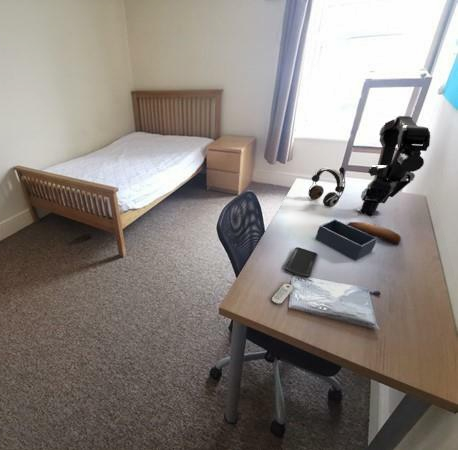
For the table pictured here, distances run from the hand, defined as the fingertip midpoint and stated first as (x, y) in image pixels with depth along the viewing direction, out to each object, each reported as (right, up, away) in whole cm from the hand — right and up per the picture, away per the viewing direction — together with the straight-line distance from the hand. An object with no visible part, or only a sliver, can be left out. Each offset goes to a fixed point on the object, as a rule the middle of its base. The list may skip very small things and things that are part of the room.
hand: (384, 199), depth 111 cm
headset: (-9, +1, +28) cm, 29 cm away
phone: (-39, -24, -11) cm, 47 cm away
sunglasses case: (-3, -14, +3) cm, 15 cm away
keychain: (-52, -32, -23) cm, 65 cm away
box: (-19, -18, -3) cm, 27 cm away
